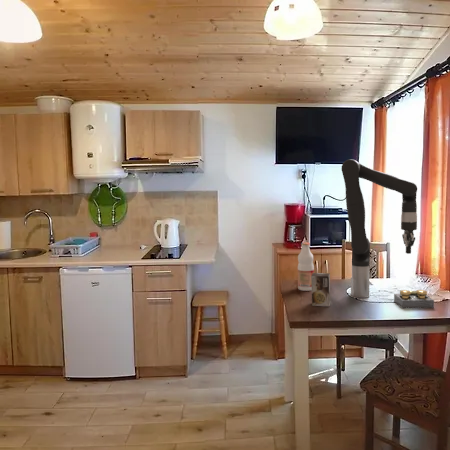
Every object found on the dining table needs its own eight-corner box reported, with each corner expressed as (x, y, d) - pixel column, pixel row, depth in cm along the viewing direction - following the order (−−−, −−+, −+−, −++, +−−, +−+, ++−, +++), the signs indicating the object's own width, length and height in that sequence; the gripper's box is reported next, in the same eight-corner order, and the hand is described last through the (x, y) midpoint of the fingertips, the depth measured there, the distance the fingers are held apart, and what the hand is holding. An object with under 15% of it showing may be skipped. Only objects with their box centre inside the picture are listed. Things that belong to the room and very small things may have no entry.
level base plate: (402, 308, 200) (402, 297, 200) (394, 301, 212) (394, 290, 212) (433, 308, 199) (433, 296, 199) (423, 300, 211) (423, 290, 211)
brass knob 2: (418, 305, 203) (418, 292, 203) (414, 302, 208) (414, 290, 207) (428, 305, 203) (428, 292, 202) (424, 302, 208) (424, 289, 207)
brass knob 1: (401, 306, 204) (402, 292, 203) (398, 303, 209) (398, 290, 208) (412, 305, 204) (412, 292, 203) (408, 302, 208) (408, 290, 208)
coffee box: (330, 303, 213) (330, 273, 211) (329, 306, 207) (329, 276, 205) (313, 302, 216) (312, 272, 214) (311, 305, 210) (311, 275, 208)
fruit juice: (295, 287, 245) (294, 242, 242) (310, 286, 247) (309, 241, 244) (302, 291, 236) (301, 244, 233) (316, 290, 238) (316, 243, 235)
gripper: (397, 219, 217) (396, 251, 219) (405, 222, 204) (405, 255, 206) (411, 219, 217) (411, 251, 219) (421, 221, 204) (420, 255, 206)
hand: (408, 253), depth 212 cm, fingers closed
